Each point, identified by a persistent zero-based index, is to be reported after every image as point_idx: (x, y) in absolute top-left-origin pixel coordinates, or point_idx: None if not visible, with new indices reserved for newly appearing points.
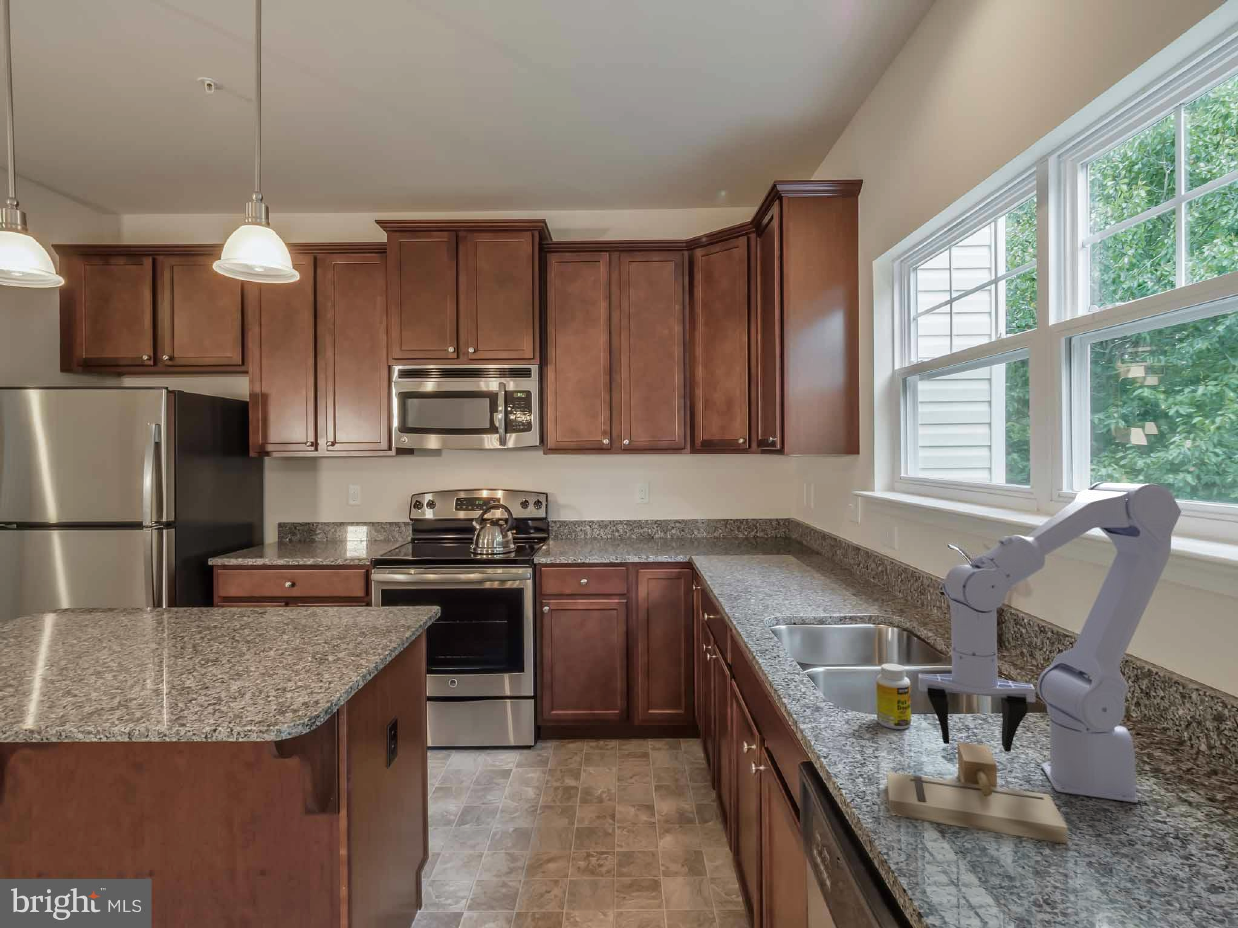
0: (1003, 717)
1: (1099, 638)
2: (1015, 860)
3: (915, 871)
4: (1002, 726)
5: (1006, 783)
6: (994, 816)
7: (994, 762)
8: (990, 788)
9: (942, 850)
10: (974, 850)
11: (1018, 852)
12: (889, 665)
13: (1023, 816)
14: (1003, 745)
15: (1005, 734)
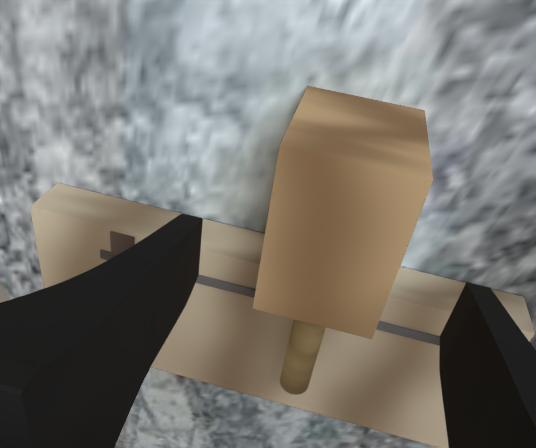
0: (498, 427)
1: None
2: (301, 440)
3: (121, 442)
4: (493, 349)
5: (481, 141)
6: (292, 404)
7: (373, 323)
8: (302, 391)
9: (172, 409)
10: (232, 413)
11: (319, 424)
12: None
13: (367, 413)
14: (455, 315)
15: (454, 401)
